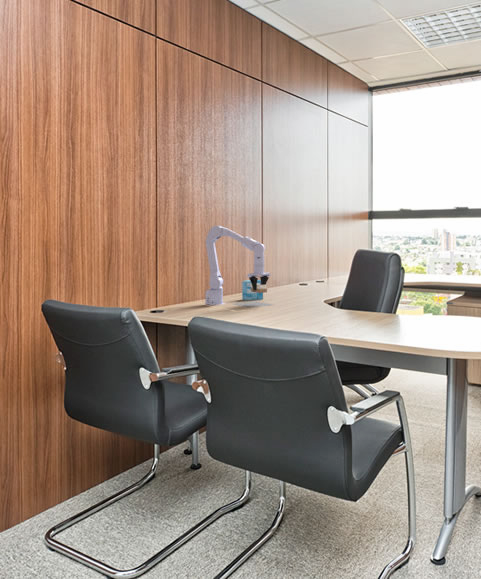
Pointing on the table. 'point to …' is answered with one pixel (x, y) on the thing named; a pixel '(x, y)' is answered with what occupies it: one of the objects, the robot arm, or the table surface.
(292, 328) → the table surface
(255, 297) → the data package
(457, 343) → the table surface
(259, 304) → the desk mat
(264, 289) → the metal box
